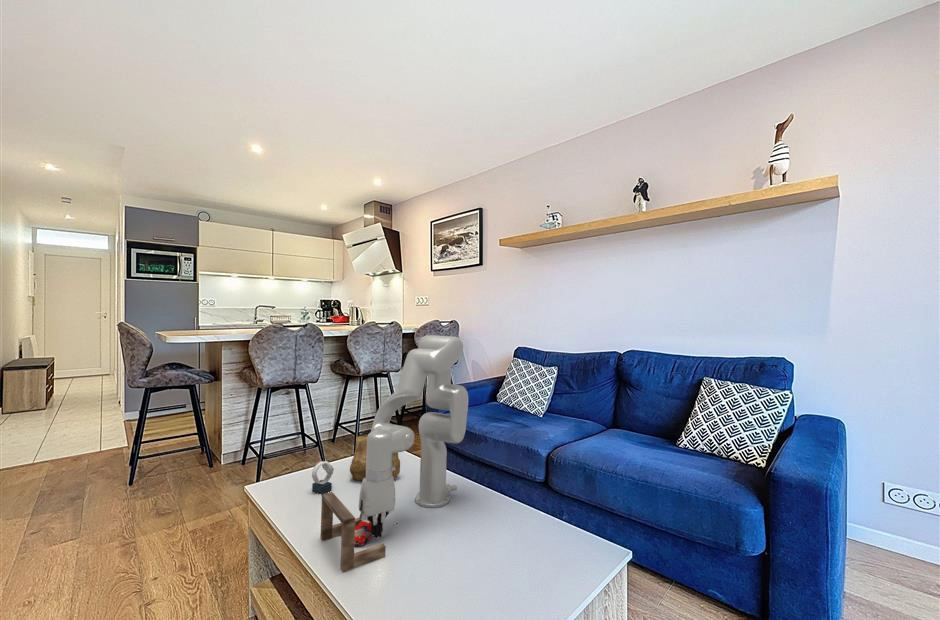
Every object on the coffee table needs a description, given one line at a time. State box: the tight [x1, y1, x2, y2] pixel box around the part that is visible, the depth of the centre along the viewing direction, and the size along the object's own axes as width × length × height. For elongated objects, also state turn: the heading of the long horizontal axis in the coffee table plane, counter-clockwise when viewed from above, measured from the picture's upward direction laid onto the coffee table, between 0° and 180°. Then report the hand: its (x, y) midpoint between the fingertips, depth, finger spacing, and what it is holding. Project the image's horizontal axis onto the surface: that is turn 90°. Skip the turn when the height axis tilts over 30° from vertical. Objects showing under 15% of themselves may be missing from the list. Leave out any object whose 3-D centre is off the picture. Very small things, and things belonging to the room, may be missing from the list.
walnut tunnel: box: [319, 491, 387, 573], centre depth 115 cm, size 12×19×13 cm, turn 37°
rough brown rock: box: [349, 435, 401, 481], centre depth 165 cm, size 23×17×15 cm
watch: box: [311, 460, 335, 496], centre depth 151 cm, size 6×8×11 cm
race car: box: [354, 520, 373, 547], centre depth 121 cm, size 13×5×4 cm, turn 167°
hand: (376, 535), depth 119 cm, fingers closed
